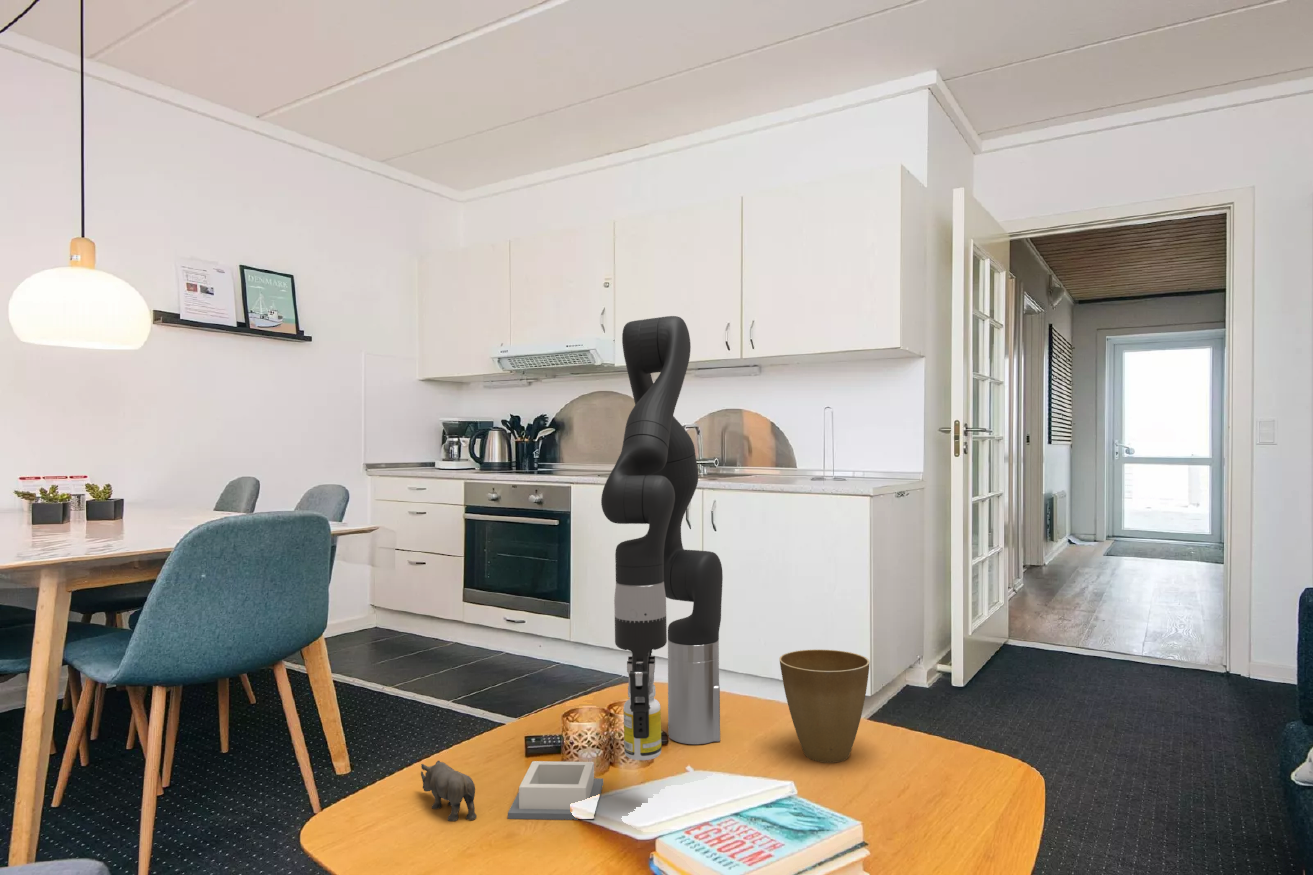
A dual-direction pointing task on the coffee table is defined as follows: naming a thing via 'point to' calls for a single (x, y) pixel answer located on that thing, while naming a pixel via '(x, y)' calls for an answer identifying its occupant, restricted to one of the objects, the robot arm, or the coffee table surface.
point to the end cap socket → (554, 790)
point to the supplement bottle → (652, 744)
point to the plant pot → (825, 699)
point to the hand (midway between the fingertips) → (642, 729)
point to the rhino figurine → (449, 788)
